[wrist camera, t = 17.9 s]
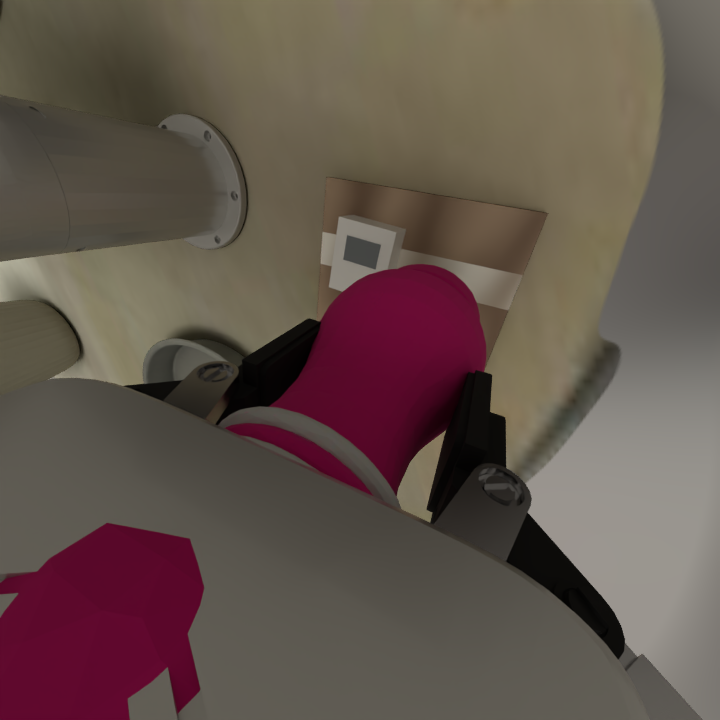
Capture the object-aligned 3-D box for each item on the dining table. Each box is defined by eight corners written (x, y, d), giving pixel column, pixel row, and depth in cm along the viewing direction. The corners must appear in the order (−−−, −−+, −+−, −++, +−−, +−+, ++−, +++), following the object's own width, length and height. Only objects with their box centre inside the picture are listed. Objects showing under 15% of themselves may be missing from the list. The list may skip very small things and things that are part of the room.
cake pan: (281, 482, 54) (265, 503, 50) (172, 417, 58) (150, 432, 55) (305, 374, 40) (285, 391, 37) (161, 301, 45) (131, 310, 41)
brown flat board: (318, 375, 39) (312, 381, 38) (334, 177, 28) (326, 177, 27) (459, 426, 35) (457, 434, 33) (545, 212, 23) (548, 213, 22)
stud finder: (342, 279, 31) (328, 287, 28) (353, 214, 27) (338, 216, 25) (389, 295, 29) (378, 304, 27) (406, 229, 26) (396, 232, 24)
